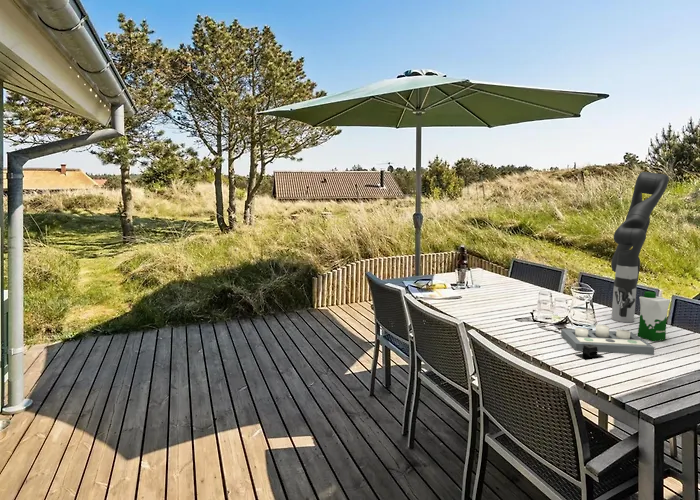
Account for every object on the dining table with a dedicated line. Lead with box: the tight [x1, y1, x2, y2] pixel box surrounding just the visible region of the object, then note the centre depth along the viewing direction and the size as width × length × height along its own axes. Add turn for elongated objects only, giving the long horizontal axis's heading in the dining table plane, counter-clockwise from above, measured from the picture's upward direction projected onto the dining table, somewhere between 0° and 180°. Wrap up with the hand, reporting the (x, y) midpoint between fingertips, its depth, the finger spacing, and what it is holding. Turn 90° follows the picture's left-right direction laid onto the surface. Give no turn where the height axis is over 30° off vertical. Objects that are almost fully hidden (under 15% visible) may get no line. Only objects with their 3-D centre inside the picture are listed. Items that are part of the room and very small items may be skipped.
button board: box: [560, 328, 656, 356], centre depth 164 cm, size 18×28×3 cm, turn 79°
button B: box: [595, 324, 610, 338], centre depth 166 cm, size 5×5×5 cm
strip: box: [576, 337, 647, 346], centre depth 159 cm, size 5×24×1 cm, turn 79°
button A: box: [615, 329, 631, 339], centre depth 164 cm, size 5×5×5 cm
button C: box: [574, 327, 589, 337], centre depth 168 cm, size 5×5×5 cm
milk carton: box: [636, 290, 671, 343], centre depth 169 cm, size 9×9×20 cm
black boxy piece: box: [574, 344, 605, 361], centre depth 152 cm, size 12×7×5 cm, turn 104°
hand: (622, 316), depth 164 cm, fingers closed
